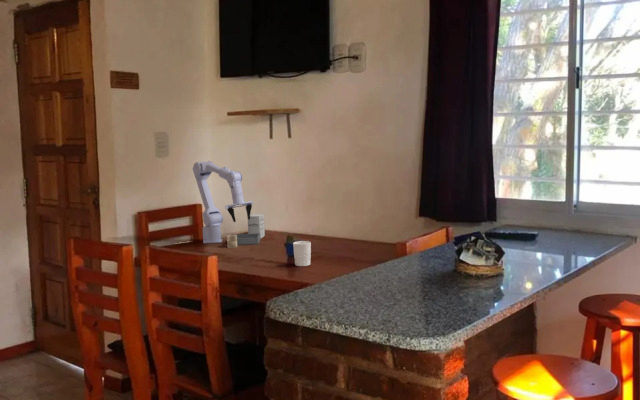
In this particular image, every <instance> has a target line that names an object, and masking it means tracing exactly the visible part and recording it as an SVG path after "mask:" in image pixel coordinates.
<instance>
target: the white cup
mask: <svg viewBox="0 0 640 400" xmlns="http://www.w3.org/2000/svg"><path fill="white" fill-rule="evenodd" d="M292 246H293V255H294V265H295V266H297V267H307V266H310V265H311V257H312V255H311V253H312V248H311V247H312V243H311V241H309V240H299V241H294V242H292Z"/></svg>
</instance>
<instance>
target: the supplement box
mask: <svg viewBox="0 0 640 400" xmlns="http://www.w3.org/2000/svg"><path fill="white" fill-rule="evenodd" d="M265 229H266V228H265V214H263V213H262V214H258V213H252V214H251V213H250V219H249V220H248V219H247V234H254V233H260V235H261V239H262V238H263V237H265V235H266V234H265V232H266V231H265Z"/></svg>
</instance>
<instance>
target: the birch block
mask: <svg viewBox="0 0 640 400" xmlns="http://www.w3.org/2000/svg"><path fill="white" fill-rule="evenodd" d="M226 241H227V243H226V245H227V248H228V249H231V248H232V249H233V248H238V245H237V235H231V234H228V235H226Z"/></svg>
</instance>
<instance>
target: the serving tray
mask: <svg viewBox="0 0 640 400" xmlns="http://www.w3.org/2000/svg"><path fill="white" fill-rule="evenodd" d="M230 235H237V246H249V245H252V246H253V245H259V244H260V242H261V239H262V238H261V235H260V233H254V234H248V233H232V234H230Z"/></svg>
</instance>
